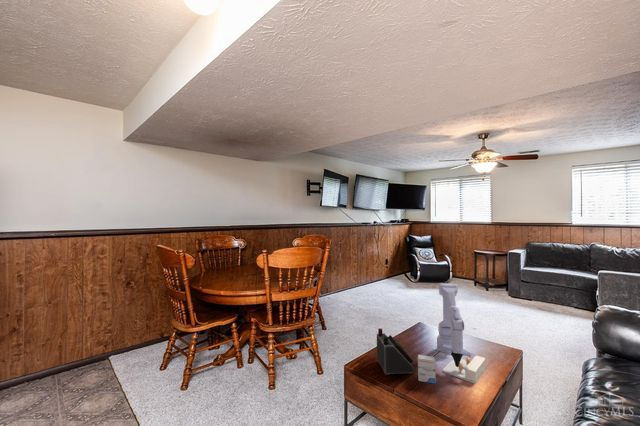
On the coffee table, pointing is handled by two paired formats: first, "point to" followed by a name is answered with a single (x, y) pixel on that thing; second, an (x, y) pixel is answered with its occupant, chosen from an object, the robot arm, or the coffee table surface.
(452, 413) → the coffee table surface
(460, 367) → the knob
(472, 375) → the panel mount
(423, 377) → the ink box
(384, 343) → the dark wedge stand
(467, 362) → the knob
